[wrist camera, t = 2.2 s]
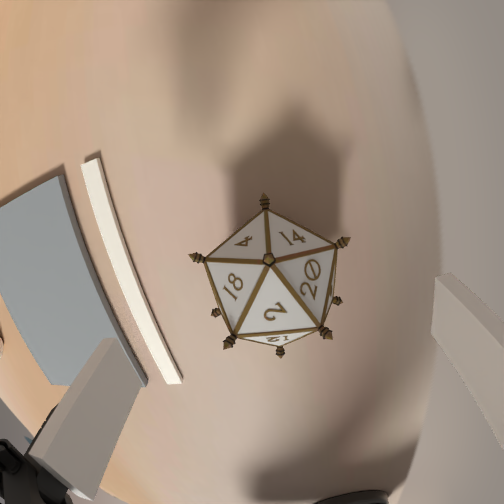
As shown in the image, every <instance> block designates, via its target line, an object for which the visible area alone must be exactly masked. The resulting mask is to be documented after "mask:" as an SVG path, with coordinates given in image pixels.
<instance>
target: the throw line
mask: <svg viewBox="0 0 504 504" xmlns="http://www.w3.org/2000/svg"><path fill="white" fill-rule="evenodd" d="M81 168H82V172H83V176H84V180H85V183H86V187H87V191H88V194H89V198H90V201H91V204H92V208H93V211H94V214H95V217H96V220H97V223H98V226H99V230H100V232H101V235H102V238H103V241H104V244H105V247H106V250H107V252H108V255H109V258H110V261H111V263H112V266H113V269H114V271H115V274H116V276H117V279H118V281H119V284H120V286H121V289H122V291H123V293H124V296H125V298H126V301H127V303H128V305H129V307H130V310H131V312H132V314H133V316H134V319H135V321H136V323H137V325H138V327H139V330H140V332H141V334H142V336H143V338H144V340H145V342H146V344H147V346H148V348H149V350H150V352H151V354H152V356H153V358H154V360H155V362H156V364H157V366H158V368H159V370H160V372H161V373H162V375H163V377H164V379H165V381H166V383H167V384H181V383H182V382H183V378H182V376H181V374H180V372H179V370H178V368H177V366H176V364H175V362H174V360H173V358H172V356H171V354H170V352H169V350H168V348H167V346H166V343H165V341H164V339H163V337H162V335H161V332H160V330H159V328H158V326H157V323H156V321H155V319H154V316H153V314H152V312H151V309H150V307H149V305H148V302H147V300H146V297H145V295H144V292H143V290H142V287H141V285H140V282H139V280H138V277H137V274H136V272H135V269H134V266H133V264H132V261H131V258H130V255H129V253H128V250H127V247H126V244H125V241H124V238H123V235H122V232H121V229H120V226H119V223H118V220H117V217H116V214H115V211H114V207H113V204H112V201H111V197H110V194H109V190H108V187H107V183H106V180H105V176H104V172H103V168H102V165H101V161H100V158H96V159H93V160H91V161H89V162H87V163H85V164H82V165H81Z"/></svg>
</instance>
